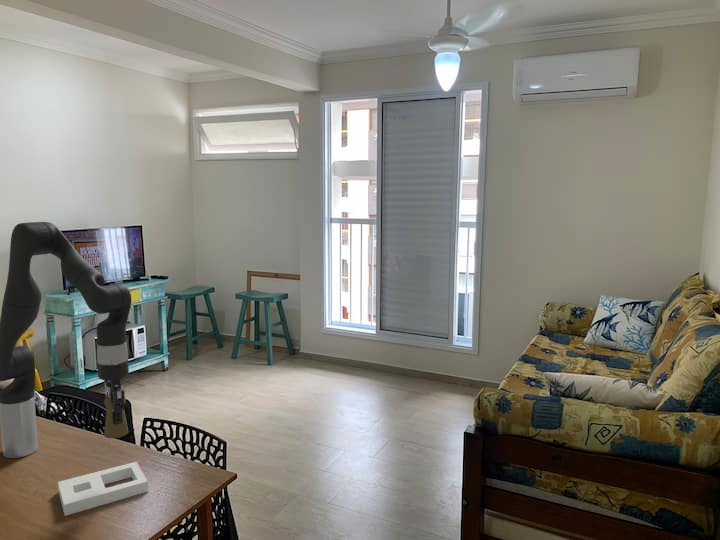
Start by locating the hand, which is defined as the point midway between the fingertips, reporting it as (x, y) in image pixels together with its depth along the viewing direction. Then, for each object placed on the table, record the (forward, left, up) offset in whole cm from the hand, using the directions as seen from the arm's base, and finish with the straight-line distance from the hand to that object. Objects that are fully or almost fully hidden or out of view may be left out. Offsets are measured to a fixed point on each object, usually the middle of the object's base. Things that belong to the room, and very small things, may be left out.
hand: (115, 420), depth 144 cm
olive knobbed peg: (0, 0, -4) cm, 4 cm away
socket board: (0, -4, -20) cm, 20 cm away
